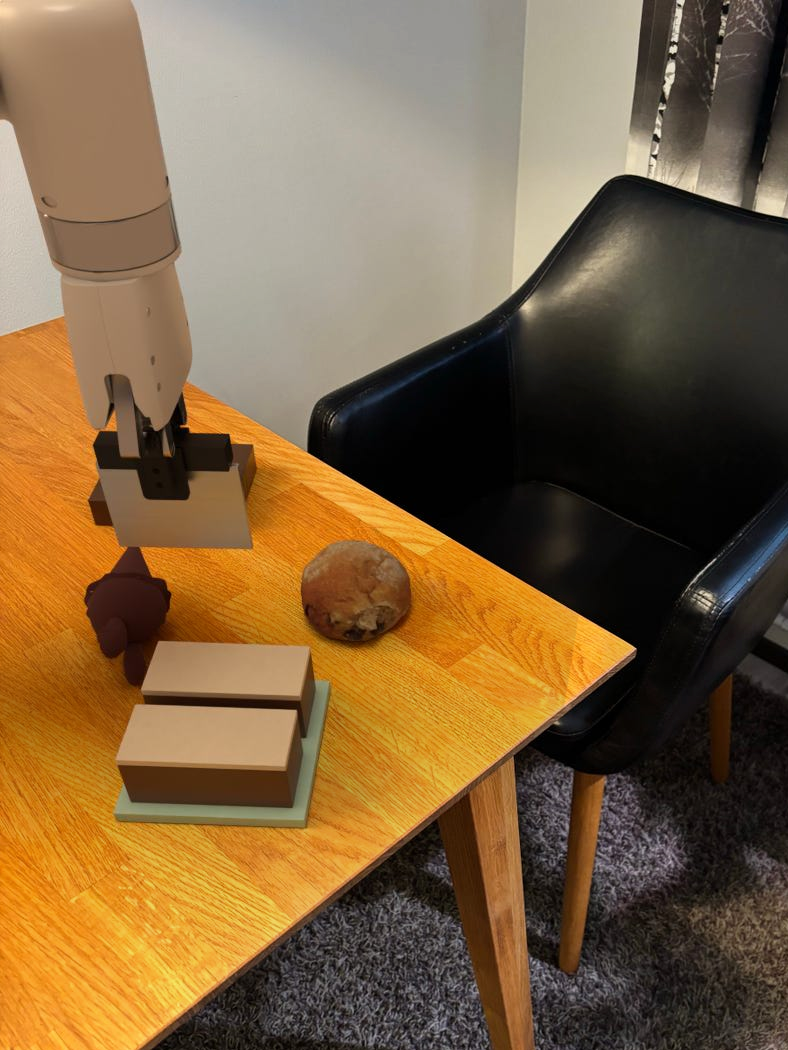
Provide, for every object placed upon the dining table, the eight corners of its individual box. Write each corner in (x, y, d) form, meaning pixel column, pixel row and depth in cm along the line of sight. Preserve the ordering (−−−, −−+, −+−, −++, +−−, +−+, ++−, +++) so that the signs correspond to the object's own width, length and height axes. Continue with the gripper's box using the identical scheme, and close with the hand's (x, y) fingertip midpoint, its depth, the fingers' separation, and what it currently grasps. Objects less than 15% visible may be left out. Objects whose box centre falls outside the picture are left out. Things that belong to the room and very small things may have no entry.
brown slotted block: (95, 525, 99) (87, 500, 96) (125, 463, 106) (118, 439, 104) (237, 530, 99) (232, 505, 96) (257, 468, 106) (253, 444, 104)
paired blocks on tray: (116, 821, 74) (96, 770, 70) (163, 682, 84) (148, 631, 80) (305, 828, 74) (297, 778, 70) (330, 688, 84) (324, 637, 80)
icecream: (75, 526, 88) (55, 656, 79) (154, 504, 88) (143, 632, 78) (114, 577, 94) (99, 705, 84) (189, 557, 93) (182, 683, 83)
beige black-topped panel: (116, 552, 75) (84, 444, 68) (123, 537, 76) (92, 430, 69) (251, 555, 75) (232, 448, 68) (255, 540, 76) (236, 433, 70)
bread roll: (418, 619, 95) (425, 538, 93) (393, 655, 86) (400, 565, 83) (317, 605, 96) (321, 524, 94) (282, 639, 87) (285, 549, 84)
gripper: (85, 178, 64) (145, 425, 77) (1, 288, 53) (88, 556, 66) (202, 181, 64) (243, 427, 77) (143, 292, 53) (202, 559, 66)
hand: (171, 485), depth 72 cm, fingers closed on beige black-topped panel, 1 cm apart
